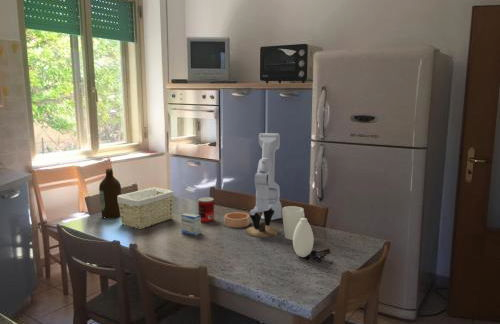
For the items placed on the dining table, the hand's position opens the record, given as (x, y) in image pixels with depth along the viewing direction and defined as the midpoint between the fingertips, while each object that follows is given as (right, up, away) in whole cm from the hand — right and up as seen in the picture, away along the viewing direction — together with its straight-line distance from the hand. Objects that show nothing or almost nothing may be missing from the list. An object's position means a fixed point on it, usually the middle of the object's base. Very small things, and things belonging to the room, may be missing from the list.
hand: (261, 227), depth 195 cm
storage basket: (-57, 0, +16) cm, 59 cm away
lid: (0, -3, 0) cm, 3 cm away
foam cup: (+13, -4, -7) cm, 15 cm away
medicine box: (-32, -3, -2) cm, 33 cm away
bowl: (-12, 0, +13) cm, 17 cm away
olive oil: (-77, +2, +24) cm, 81 cm away
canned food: (-27, 0, +18) cm, 33 cm away
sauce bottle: (+15, -7, -29) cm, 34 cm away
